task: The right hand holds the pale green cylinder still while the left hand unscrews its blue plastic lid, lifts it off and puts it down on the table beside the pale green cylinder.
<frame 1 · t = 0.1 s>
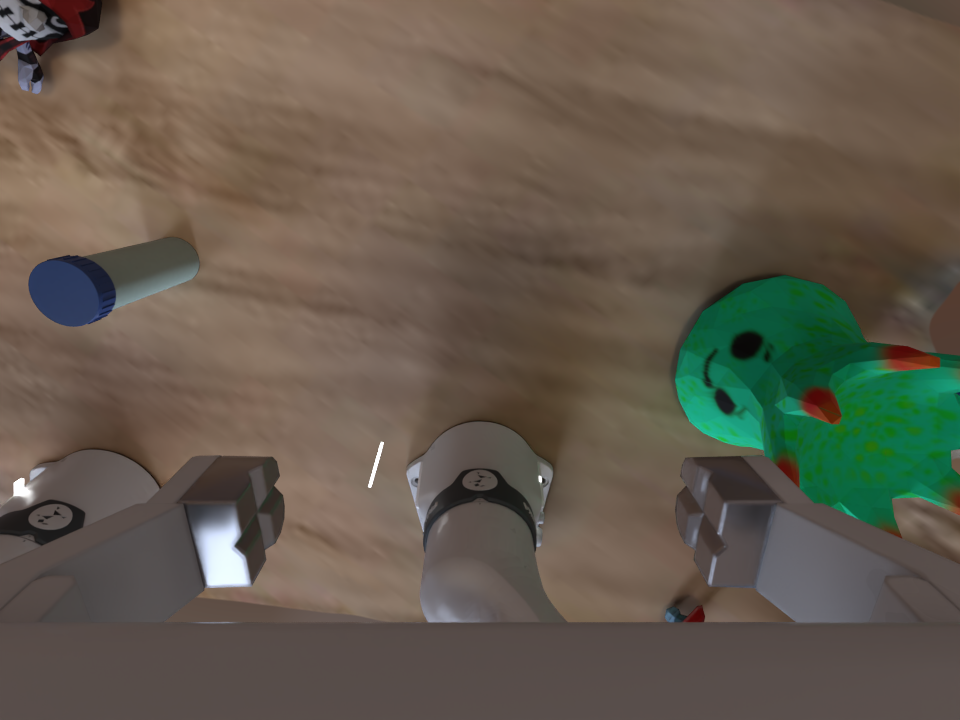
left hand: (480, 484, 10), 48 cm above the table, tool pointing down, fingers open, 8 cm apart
toy 2: (756, 359, 61), on the table
pale green cylinder: (177, 259, 56), on the table
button: (677, 610, 75), on the table
toy: (48, 17, 48), on the table
lid: (67, 293, 41), point 16 cm above the table, screwed on, not yet turned
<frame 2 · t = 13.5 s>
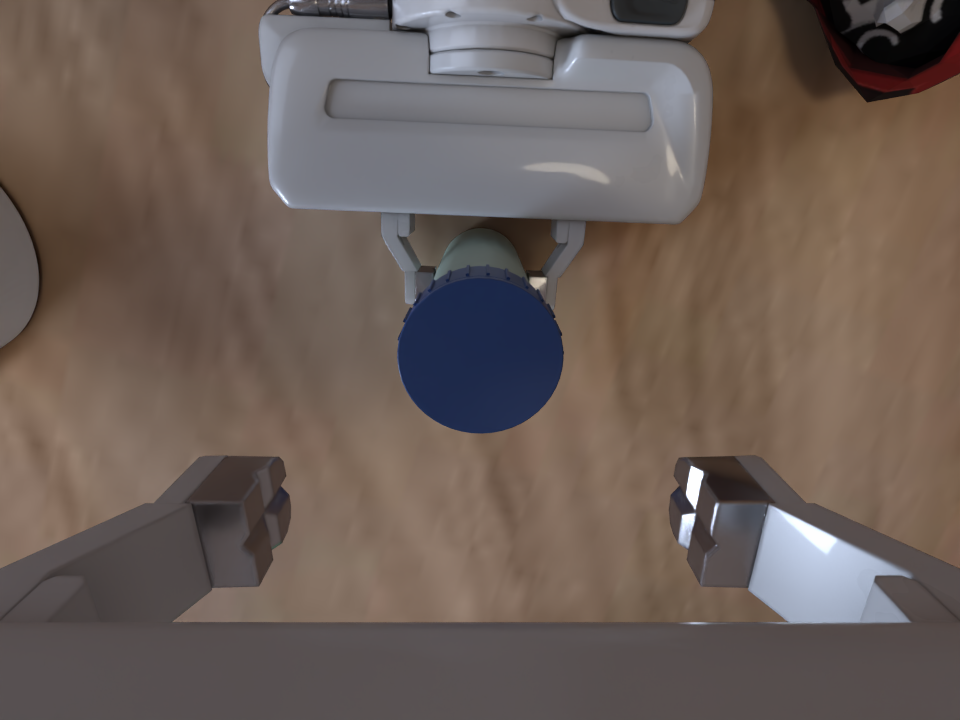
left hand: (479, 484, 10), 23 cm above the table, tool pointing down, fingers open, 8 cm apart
right hand: (480, 304, 27), fingers closed on pale green cylinder, 5 cm apart
pale green cylinder: (480, 267, 32), on the table, touching right hand
lid: (480, 356, 17), point 16 cm above the table, screwed on, not yet turned
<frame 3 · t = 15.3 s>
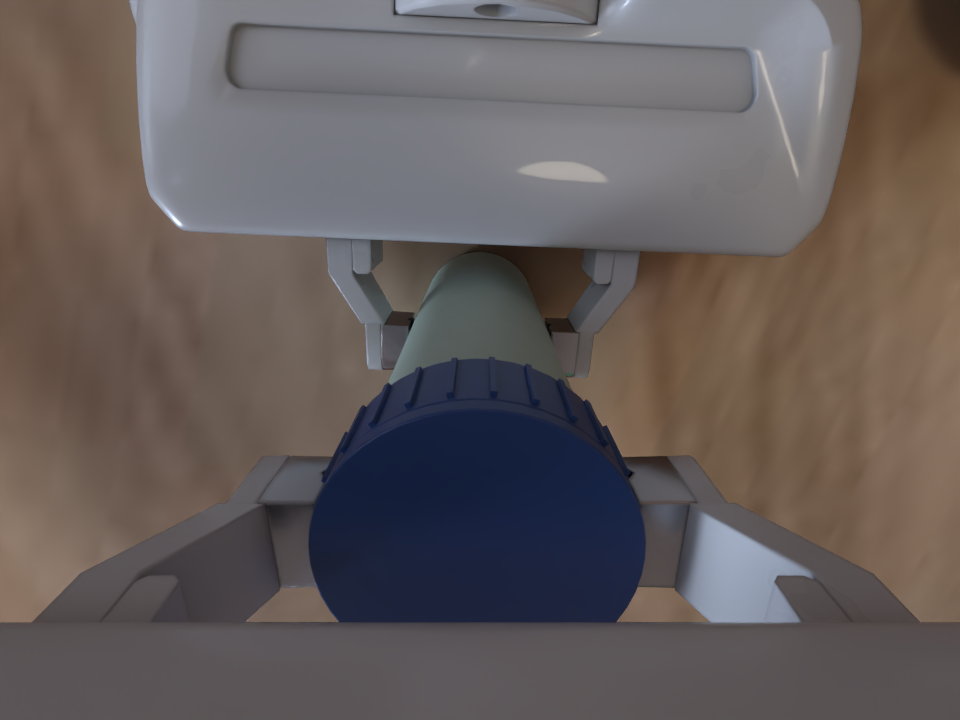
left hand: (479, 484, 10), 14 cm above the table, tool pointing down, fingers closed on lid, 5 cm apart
pale green cylinder: (479, 305, 24), on the table, touching right hand
lid: (477, 546, 9), point 16 cm above the table, screwed on, not yet turned, touching left hand
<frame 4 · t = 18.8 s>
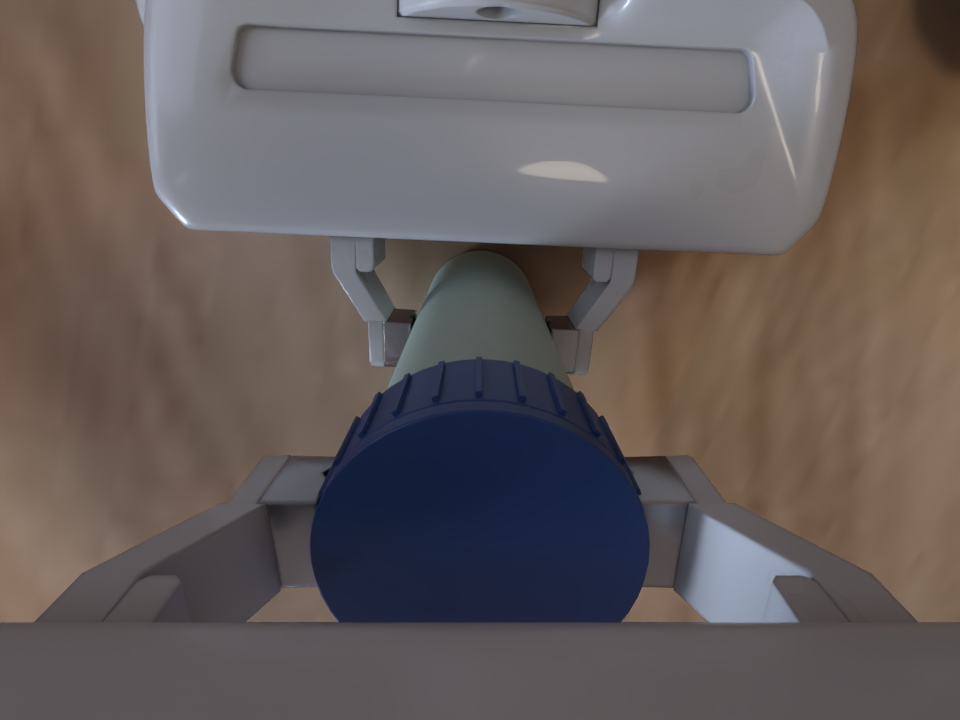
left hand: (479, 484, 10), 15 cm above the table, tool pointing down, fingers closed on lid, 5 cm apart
pale green cylinder: (480, 303, 24), on the table, touching right hand
lid: (479, 547, 9), point 16 cm above the table, turned 89° so far, risen 0.3 cm, still on its thread, touching left hand
when the left hand's fingers open (2 cm above the table, at t = 26.2 s): lid drops 2 cm, point 2 cm above the table.
when the right hand's fingers open (6 cm above the table, at t = 27.2 s): pale green cylinder stays where it is, on the table.
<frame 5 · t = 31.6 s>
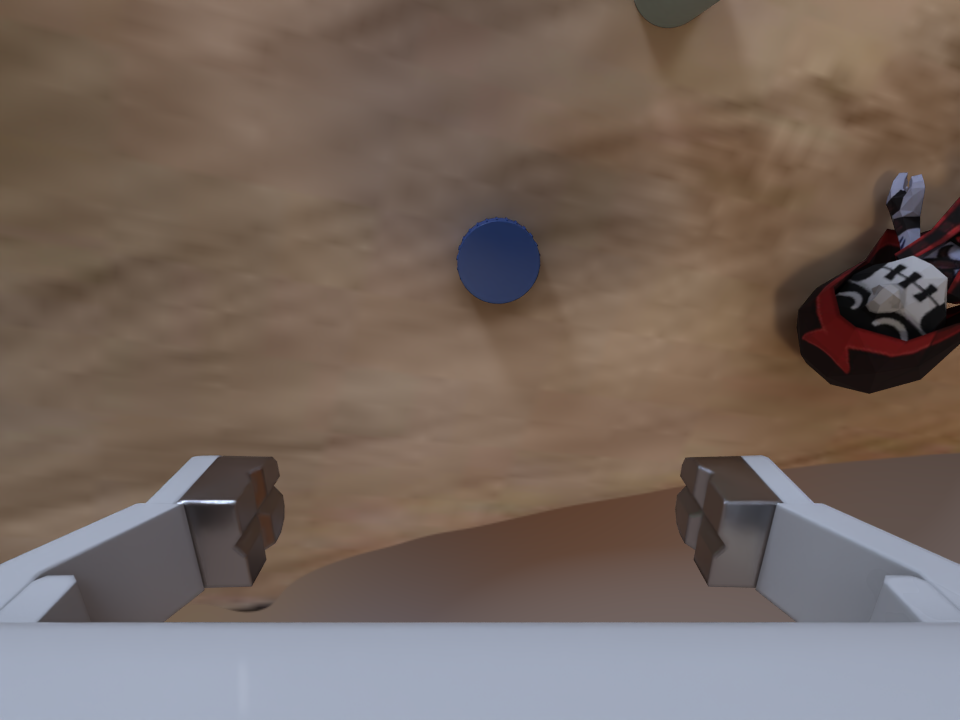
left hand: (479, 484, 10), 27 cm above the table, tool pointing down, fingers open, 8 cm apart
toy: (871, 275, 36), on the table
lid: (498, 262, 34), point 2 cm above the table, off its thread
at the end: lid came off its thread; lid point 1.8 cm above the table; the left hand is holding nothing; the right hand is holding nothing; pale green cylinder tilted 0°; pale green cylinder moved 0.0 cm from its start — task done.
